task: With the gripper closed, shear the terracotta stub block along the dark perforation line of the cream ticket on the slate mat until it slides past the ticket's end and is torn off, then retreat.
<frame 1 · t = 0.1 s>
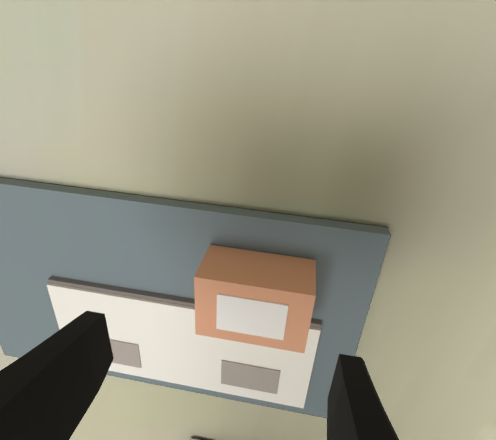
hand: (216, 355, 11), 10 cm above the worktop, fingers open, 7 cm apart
stub: (255, 297, 19), point 2 cm above the worktop, slide at 0.0 cm
ticket: (185, 333, 25), resting on mat
mat: (156, 301, 24), on the worktop
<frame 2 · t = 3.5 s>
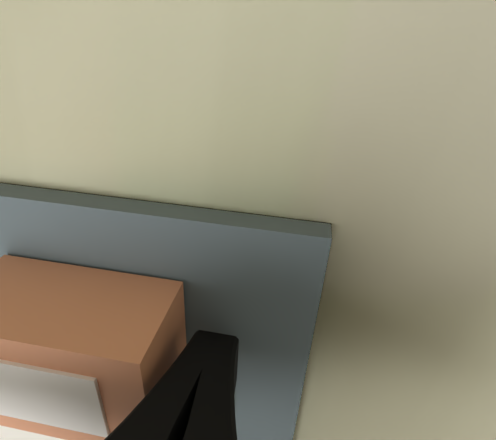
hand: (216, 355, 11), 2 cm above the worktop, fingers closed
stub: (73, 351, 11), point 2 cm above the worktop, slide at 0.6 cm, touching gripper
ticket: (45, 389, 16), resting on mat
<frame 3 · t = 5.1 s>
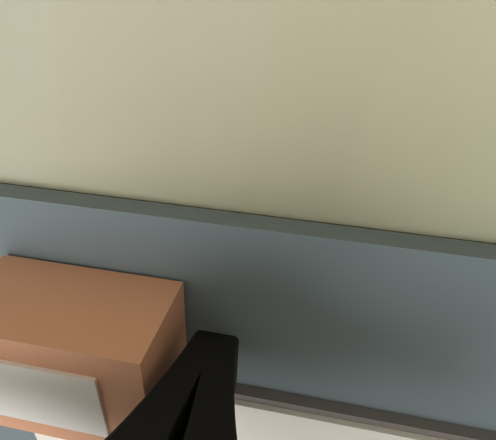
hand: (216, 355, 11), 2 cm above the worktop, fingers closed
stub: (73, 351, 11), point 2 cm above the worktop, slide at 9.8 cm, touching gripper
ticket: (237, 428, 15), resting on mat
mat: (191, 381, 14), on the worktop
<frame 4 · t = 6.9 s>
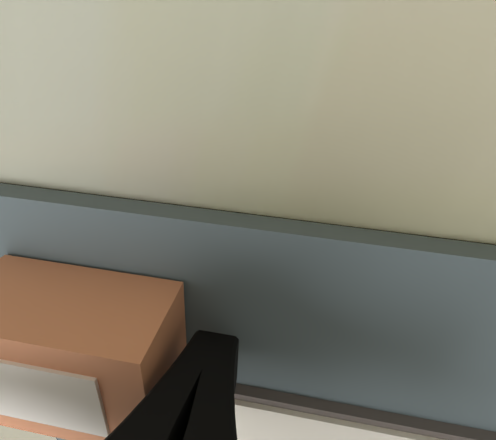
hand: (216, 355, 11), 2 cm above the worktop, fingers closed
stub: (73, 351, 11), point 2 cm above the worktop, slide at 16.7 cm, touching gripper
mat: (364, 413, 13), on the worktop
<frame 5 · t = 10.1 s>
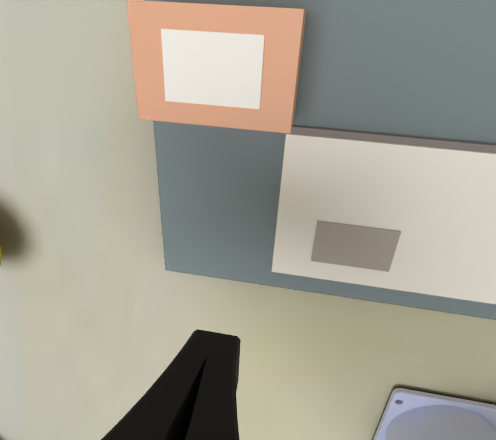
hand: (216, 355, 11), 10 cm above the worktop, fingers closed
stub: (221, 66, 14), point 2 cm above the worktop, slide at 16.7 cm
ticket: (458, 219, 18), resting on mat
mat: (432, 165, 17), on the worktop
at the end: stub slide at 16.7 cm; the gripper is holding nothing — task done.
